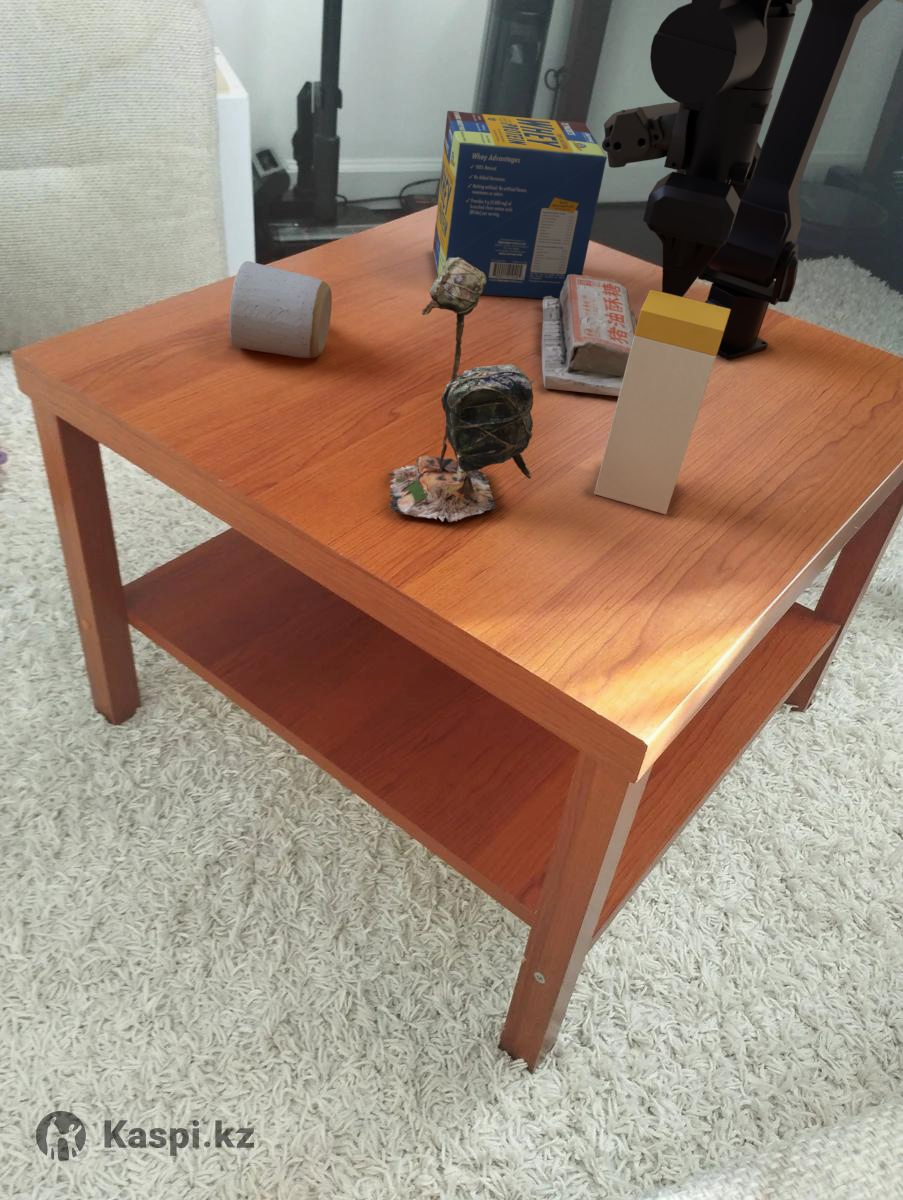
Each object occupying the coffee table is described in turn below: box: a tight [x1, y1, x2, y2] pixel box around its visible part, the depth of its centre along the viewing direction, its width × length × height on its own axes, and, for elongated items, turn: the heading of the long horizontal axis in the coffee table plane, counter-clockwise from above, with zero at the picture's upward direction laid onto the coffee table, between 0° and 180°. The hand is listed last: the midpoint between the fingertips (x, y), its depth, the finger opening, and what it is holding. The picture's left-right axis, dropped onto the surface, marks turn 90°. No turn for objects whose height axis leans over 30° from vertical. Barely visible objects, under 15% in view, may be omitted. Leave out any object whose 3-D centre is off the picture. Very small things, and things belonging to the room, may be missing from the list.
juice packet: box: [593, 289, 731, 515], centre depth 77 cm, size 4×6×16 cm, turn 71°
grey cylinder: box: [228, 260, 333, 359], centre depth 92 cm, size 11×8×8 cm
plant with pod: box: [387, 257, 535, 523], centre depth 72 cm, size 8×11×20 cm
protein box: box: [432, 110, 608, 300], centre depth 106 cm, size 10×15×16 cm
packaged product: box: [541, 274, 637, 397], centre depth 98 cm, size 18×5×10 cm
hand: (678, 284), depth 82 cm, fingers open, 9 cm apart
